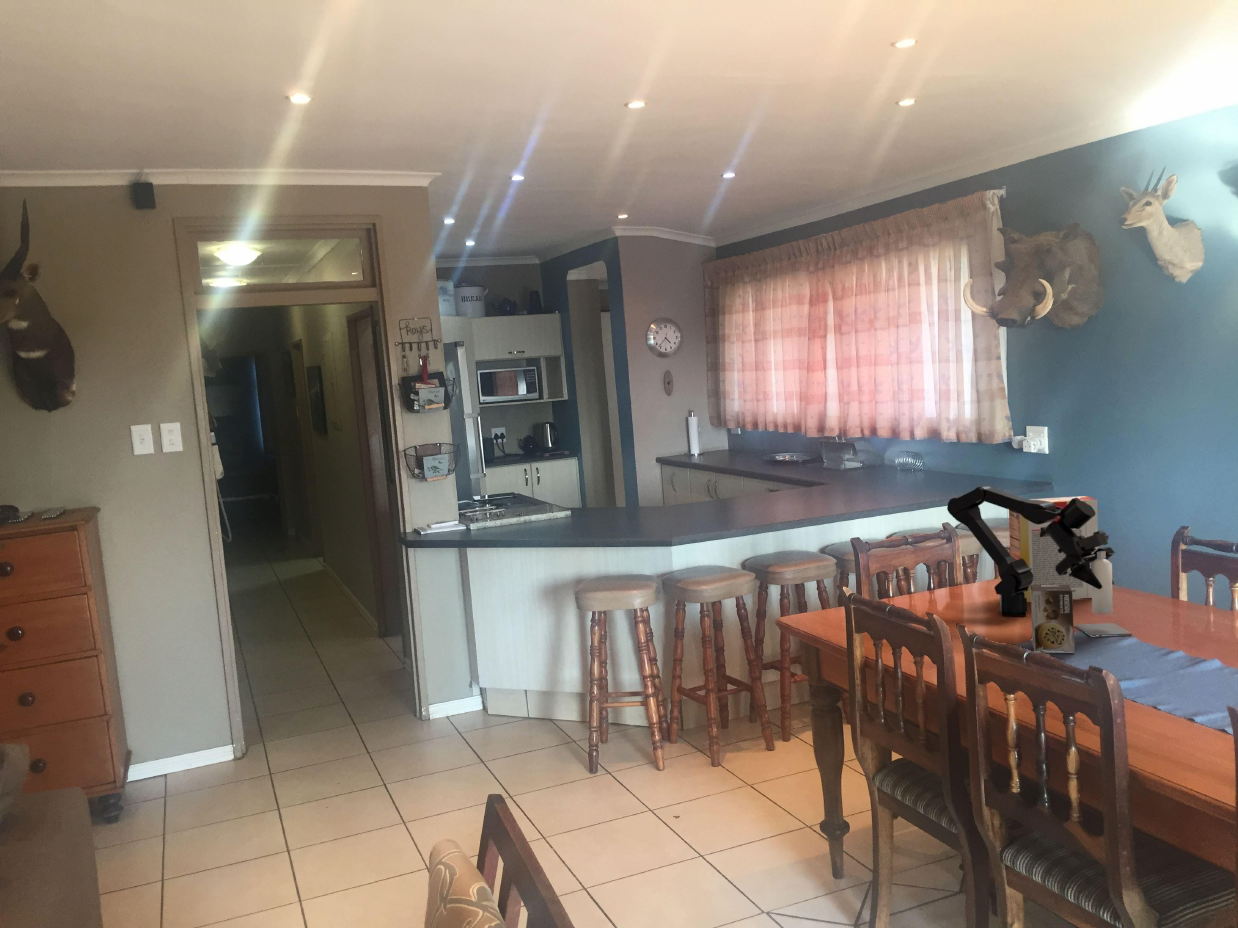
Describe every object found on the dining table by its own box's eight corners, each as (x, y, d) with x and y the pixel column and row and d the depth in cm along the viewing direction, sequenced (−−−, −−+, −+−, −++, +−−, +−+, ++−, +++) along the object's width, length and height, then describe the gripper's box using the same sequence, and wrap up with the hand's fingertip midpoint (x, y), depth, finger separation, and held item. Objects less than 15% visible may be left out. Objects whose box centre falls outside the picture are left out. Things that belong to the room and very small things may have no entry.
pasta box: (1086, 591, 278) (1084, 496, 276) (1099, 598, 270) (1097, 499, 268) (1011, 596, 279) (1008, 500, 277) (1021, 602, 271) (1019, 504, 269)
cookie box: (1071, 646, 226) (1069, 584, 225) (1075, 654, 220) (1073, 590, 219) (1031, 645, 229) (1029, 583, 228) (1034, 653, 223) (1032, 589, 222)
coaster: (1091, 637, 233) (1091, 634, 233) (1075, 626, 243) (1075, 624, 243) (1131, 635, 232) (1131, 633, 232) (1113, 625, 242) (1113, 622, 242)
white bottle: (1088, 611, 238) (1087, 551, 237) (1098, 608, 240) (1098, 549, 239) (1105, 615, 234) (1104, 554, 232) (1116, 611, 236) (1115, 551, 235)
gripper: (1065, 526, 234) (1106, 574, 225) (1107, 516, 243) (1149, 562, 234) (1038, 551, 241) (1077, 599, 233) (1080, 542, 251) (1119, 587, 242)
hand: (1106, 586), depth 235 cm, fingers closed on white bottle, 5 cm apart
